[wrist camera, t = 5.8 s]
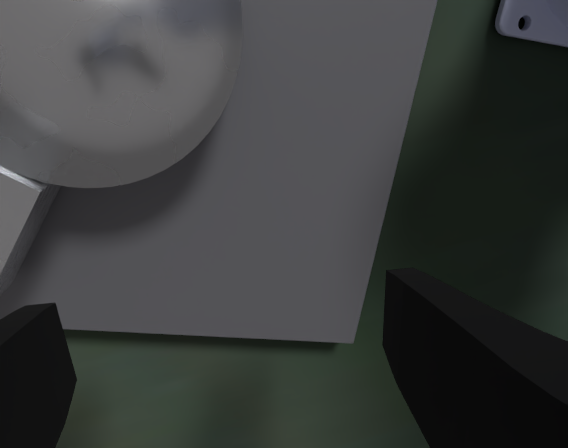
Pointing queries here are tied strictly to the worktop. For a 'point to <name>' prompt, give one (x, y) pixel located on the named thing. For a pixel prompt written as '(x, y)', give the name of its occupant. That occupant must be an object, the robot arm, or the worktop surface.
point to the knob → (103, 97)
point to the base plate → (251, 191)
